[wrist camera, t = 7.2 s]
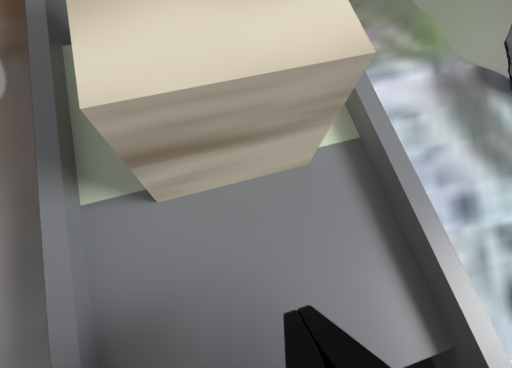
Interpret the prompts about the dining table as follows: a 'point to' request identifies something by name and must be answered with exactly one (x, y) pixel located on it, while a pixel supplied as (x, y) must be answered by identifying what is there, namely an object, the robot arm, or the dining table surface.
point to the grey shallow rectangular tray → (240, 246)
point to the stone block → (509, 52)
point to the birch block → (214, 84)
